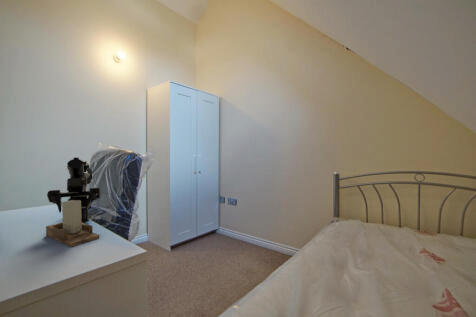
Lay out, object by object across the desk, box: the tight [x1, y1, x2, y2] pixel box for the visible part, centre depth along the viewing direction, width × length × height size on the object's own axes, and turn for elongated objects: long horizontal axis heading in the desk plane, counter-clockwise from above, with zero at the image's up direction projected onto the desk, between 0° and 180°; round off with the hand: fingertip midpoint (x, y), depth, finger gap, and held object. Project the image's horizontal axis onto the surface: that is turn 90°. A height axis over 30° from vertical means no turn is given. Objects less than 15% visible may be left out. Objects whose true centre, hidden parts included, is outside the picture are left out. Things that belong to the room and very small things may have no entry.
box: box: [61, 200, 83, 234], centre depth 88 cm, size 5×4×13 cm
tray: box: [45, 222, 100, 248], centre depth 88 cm, size 10×21×4 cm, turn 61°
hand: (73, 210), depth 92 cm, fingers open, 9 cm apart
